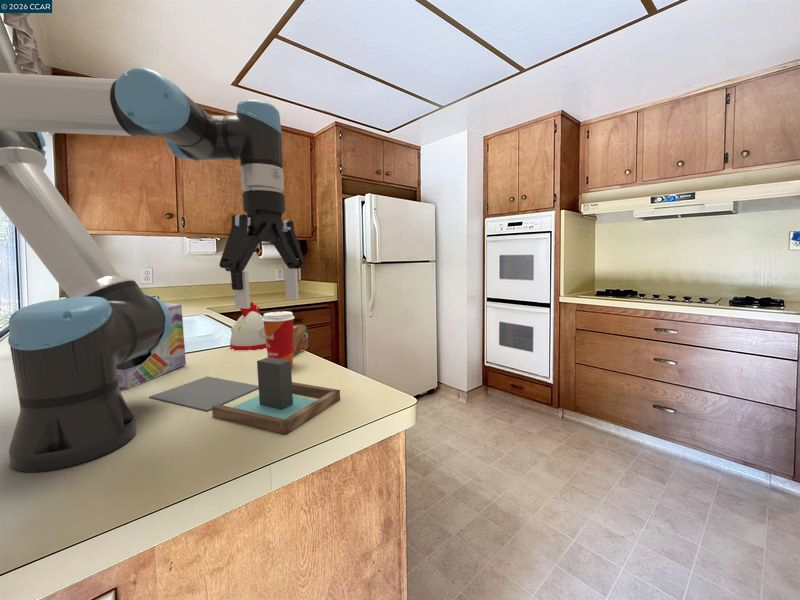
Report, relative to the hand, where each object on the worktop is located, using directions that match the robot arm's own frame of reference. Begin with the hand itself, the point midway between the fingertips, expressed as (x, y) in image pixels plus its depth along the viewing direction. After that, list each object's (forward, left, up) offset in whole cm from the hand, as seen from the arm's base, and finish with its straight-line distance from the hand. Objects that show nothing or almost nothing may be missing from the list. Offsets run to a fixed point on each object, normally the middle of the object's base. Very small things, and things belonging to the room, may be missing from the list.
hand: (269, 303), depth 71 cm
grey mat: (-1, +19, -21) cm, 28 cm away
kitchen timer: (+35, +43, -21) cm, 60 cm away
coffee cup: (+19, +16, -21) cm, 33 cm away
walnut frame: (-1, -1, -21) cm, 21 cm away
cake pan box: (+1, +42, -21) cm, 47 cm away
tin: (+33, +23, -21) cm, 46 cm away
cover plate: (-1, -1, -21) cm, 21 cm away
